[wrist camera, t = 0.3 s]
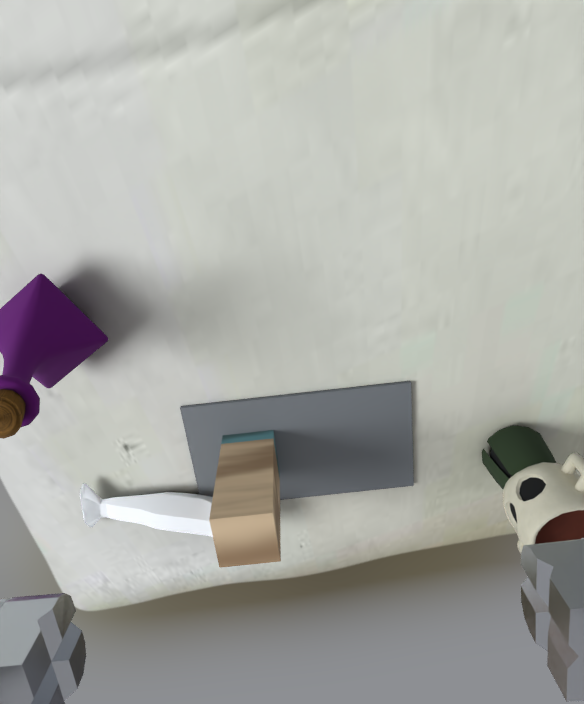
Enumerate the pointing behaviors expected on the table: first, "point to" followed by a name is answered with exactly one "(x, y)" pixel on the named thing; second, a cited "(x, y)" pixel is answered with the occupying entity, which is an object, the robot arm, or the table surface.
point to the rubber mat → (314, 438)
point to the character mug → (537, 487)
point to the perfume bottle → (39, 348)
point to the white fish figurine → (151, 510)
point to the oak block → (247, 500)
